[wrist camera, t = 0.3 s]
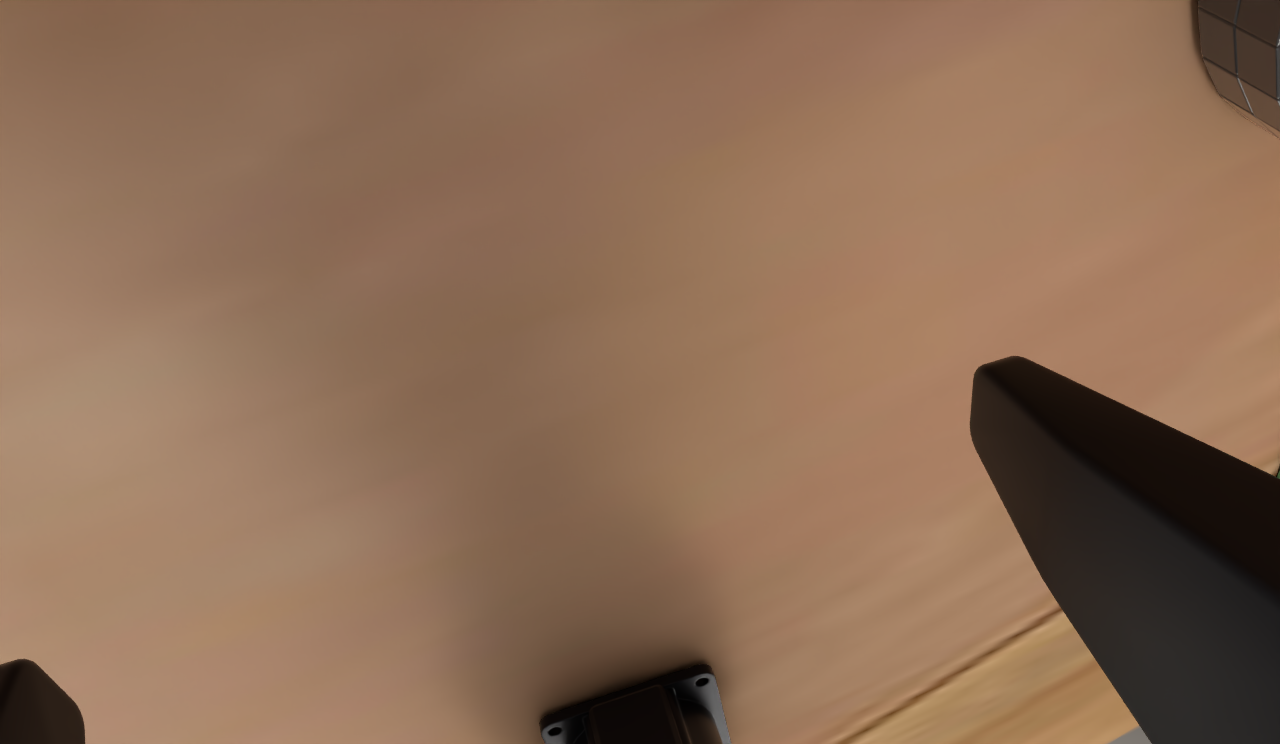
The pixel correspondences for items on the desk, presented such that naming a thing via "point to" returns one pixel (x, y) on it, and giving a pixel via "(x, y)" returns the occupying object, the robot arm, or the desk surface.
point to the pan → (1244, 56)
